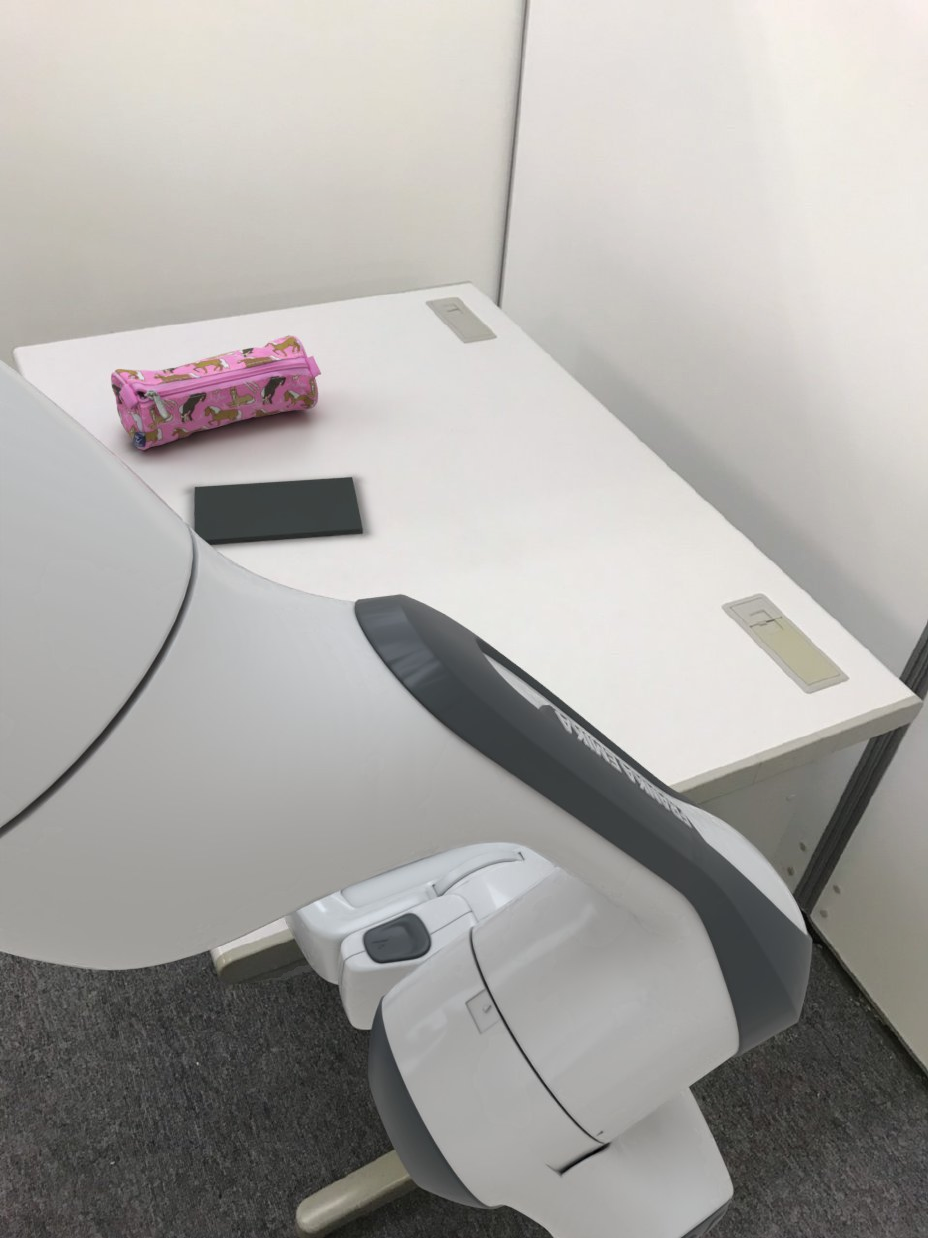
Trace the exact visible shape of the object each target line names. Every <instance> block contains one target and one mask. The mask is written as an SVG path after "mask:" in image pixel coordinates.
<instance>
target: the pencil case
mask: <svg viewBox="0 0 928 1238" xmlns="http://www.w3.org/2000/svg"><path fill="white" fill-rule="evenodd" d="M320 375H322V372H321V369H320V368H319V366H318V364H317V362H316V360H315V357H314V355H311V356H308V355H307V352H306V350H305V347H304V345H303V343H302V341H301V340H300V338H299V337H298V336H295V335H289V334H288V335H286V336H283V337H279V338H276V339H274V340H270V341H268V342H267V343H266V344H265V345H263V346H262V347H249V348H243V349H238V350H237V349H236V350H233V351H229V352H224V353H221V354H216V355H213V356H210V357H205V358H202V359H200V360H196V361H194V362H190V363H185V364H182V365H180V366H179V365H178V366H176V367H170V368H165V369H157V370H145V369H144V370H139V369H125V368H117V369H115V370H114V371H113V372H112V373H111V374H110V384H111V389H112V392H113V395H114V397H115V405H116V411H117V414H118V417H119V421H120V423H121V425H122V427H123V429H124V430H125V432H126V433H127V435H128V436H129V437H130V439H131V440H132V442H131V444H132V445H133V446H134V447H135V448H137V449H138V450H140V451H145V450H147V449H150V448H151V447H158V446H159V447H160V446H163V445H165V444H168V443H171V442H174V441H177V440H180V439H183V438H187V437H189V436H190V435H192V434H194V433H196V432H202V431H208V430H211V429H216V428H220V427H222V426H226V425H229V424H232V423H235V422H240V421H243V420H249V419H251V418H259V417H266V416H270V415H276V414H279V413H284V412H290V411H307V410H310V409H313V408H314V407H316V406H317V404H318V401H319V389H318V388H319V387H318V383H317V379H316V378H317V377H318V376H320Z"/></svg>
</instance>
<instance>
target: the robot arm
mask: <svg viewBox="0 0 928 1238" xmlns="http://www.w3.org/2000/svg"><path fill="white" fill-rule="evenodd" d="M282 918H284V921H285V923H286V925H287V927H288V929H289V931H290V933H291V935H292V937H293V939H294V941H295V943H296V944H297V946H298V948H299V950H300V951H301V953H302V954H303V956H304V958H305V959H306V961H307V962H308V964H309V966H310V967H311V968H312V969H313V971H315V973H316V974H318V976H319V977H321V978H322V979H323V980H325V981H326V982H328V983H331V984H333V985H338V991H339V995H340V1000H341V1004H342V1007H343V1009H344V1012H345V1015H346V1017H347V1019H348V1021H349V1023H350V1025H351V1026H352V1027H353V1028H354V1029H357V1030H365V1031H369V1030H370V1034H369V1042H368V1043H369V1044H368V1055H367V1080H368V1085H369V1088H370V1092H371V1095H372V1097H373V1101H374V1104H375V1106H376V1109H377V1113H378V1114H379V1117H380V1120H381V1122H382V1125H383V1127H384V1129H385V1131H386V1134H387V1136H388V1138H389V1140H390V1143H391V1145H392V1147H393V1149H394V1151H395V1153H396V1155H397V1157H398V1159H399V1161H400V1162H401V1164H402V1166H403V1168H404V1169H405V1171H406V1173H407V1174H408V1175H409V1177H410V1178H411V1180H412V1181H413V1182H414V1183H415V1184H416V1185H417V1186H418V1187H419V1188H421V1189H422V1190H424V1191H426V1192H429V1193H431V1194H434V1195H436V1196H439V1197H441V1198H443V1199H446V1200H449V1201H451V1202H454V1203H457V1204H461V1205H463V1206H469V1207H473V1208H477V1209H484V1210H485V1209H486V1210H495V1209H499V1208H502V1207H504V1206H507V1207H509V1208H512V1209H513V1210H516V1211H518V1212H519V1213H521V1214H523V1215H525V1216H526V1217H528V1218H529V1219H531V1220H532V1221H534V1222H536V1223H537V1224H539V1225H540V1226H541V1227H543V1228H544V1229H545V1230H547V1231H548V1233H549V1234H550V1235H551V1236H552V1238H700V1237H701V1236H705V1235H706V1234H707V1233H709V1232H710V1231H711V1230H712V1229H714V1227H715V1226H716V1225H717V1224H718V1223H719V1222H720V1221H721V1220H722V1219H723V1217H724V1216H725V1215H726V1212H727V1211H728V1207H729V1205H730V1202H731V1201H732V1198H733V1196H734V1185H733V1182H732V1178H731V1176H730V1173H729V1170H728V1169H727V1166H726V1163H725V1161H724V1159H723V1156H722V1154H721V1152H720V1149H719V1146H718V1144H717V1142H716V1140H715V1137H714V1135H713V1133H712V1132H711V1129H710V1127H709V1125H708V1123H707V1121H706V1119H705V1116H704V1114H703V1112H702V1110H701V1108H700V1106H699V1103H698V1102H697V1100H696V1098H695V1096H694V1094H693V1092H692V1090H691V1086H692V1085H693V1084H695V1083H696V1082H698V1081H699V1080H701V1079H702V1078H703V1077H705V1076H706V1075H708V1074H709V1073H710V1072H712V1071H714V1070H715V1069H716V1068H718V1067H719V1066H721V1065H722V1064H724V1062H726V1061H728V1060H729V1059H730V1058H738V1057H741V1056H742V1055H743V1054H745V1053H747V1052H748V1051H750V1050H752V1049H754V1048H755V1047H757V1046H759V1045H760V1044H762V1043H764V1042H766V1041H768V1040H769V1039H771V1038H773V1037H774V1036H776V1035H778V1034H779V1033H781V1032H783V1031H785V1030H787V1029H788V1028H790V1027H792V1026H793V1025H795V1024H797V1023H798V1022H799V1020H800V1017H801V1013H802V1009H803V1006H804V1002H805V997H806V993H807V988H808V983H809V978H810V972H811V963H812V953H813V938H812V936H811V935H810V933H809V931H808V930H807V926H806V922H805V920H804V917H803V914H802V911H801V909H800V907H799V905H798V903H797V901H796V900H795V897H794V896H793V894H792V892H791V891H790V889H789V887H788V885H787V884H786V882H785V881H784V880H783V878H782V877H781V875H780V874H779V873H778V871H777V870H776V869H775V868H774V866H773V865H772V864H771V863H770V861H769V860H768V859H767V858H766V857H765V856H764V855H763V854H762V852H761V851H760V850H759V849H758V848H757V847H756V846H755V845H754V844H753V843H752V842H751V841H750V840H749V839H747V837H745V836H744V835H743V834H742V833H741V832H740V831H738V830H737V829H735V828H734V827H733V826H732V825H730V824H729V823H727V822H726V821H724V820H723V819H721V818H719V817H717V816H716V815H714V814H712V813H710V812H708V811H706V810H705V809H704V808H702V807H701V806H700V805H698V803H696V802H695V801H694V800H692V799H690V798H689V797H687V796H685V795H684V794H682V793H680V792H679V791H677V790H675V789H673V787H672V788H671V786H669V785H668V784H666V783H665V782H664V781H662V780H661V779H660V778H658V777H657V776H655V774H653V773H652V772H651V771H649V770H648V769H647V768H646V767H644V766H643V765H642V764H641V763H640V762H638V761H637V760H636V759H634V758H633V757H632V756H631V755H630V754H628V752H626V751H625V750H624V749H622V748H621V747H620V746H619V745H617V744H616V742H614V741H613V740H612V739H610V738H609V737H607V736H606V735H605V734H604V733H603V732H601V731H600V730H599V729H598V728H597V727H596V726H594V725H593V724H592V723H591V722H589V721H588V720H587V719H585V718H584V716H582V715H581V714H580V713H578V712H577V711H576V710H574V709H573V708H572V707H571V706H570V705H569V704H567V703H566V702H564V700H562V699H561V698H560V697H558V695H556V694H555V693H553V691H551V690H550V689H549V688H547V686H545V685H543V684H542V683H541V682H540V681H539V680H537V679H536V678H535V677H533V676H532V675H531V674H530V673H528V672H527V671H525V670H524V669H523V668H522V667H520V666H519V665H517V663H515V662H514V661H512V660H511V659H510V658H508V657H507V656H506V655H504V654H503V653H501V652H500V651H499V650H498V649H496V648H495V647H494V646H492V645H491V644H490V643H489V642H487V641H485V640H484V639H483V638H481V637H480V636H479V635H478V634H476V633H474V632H473V630H471V629H469V628H467V627H466V626H464V625H462V624H461V623H460V622H458V621H456V620H455V619H453V618H452V617H451V616H449V615H447V614H446V613H443V612H441V611H440V610H438V609H436V608H434V607H432V606H430V605H428V604H427V603H425V602H421V600H420V601H419V600H417V599H415V598H412V597H411V596H409V595H406V594H402V593H398V594H392V595H384V596H375V597H374V596H373V597H368V598H367V597H366V598H359V599H357V600H354V601H353V600H344V599H340V598H339V599H338V598H332V597H328V596H323V595H319V594H314V593H311V592H306V591H303V590H300V589H296V588H293V587H290V586H287V585H285V584H281V583H279V582H276V581H274V580H271V579H269V578H266V577H263V576H262V575H259V574H258V573H256V572H253V571H252V570H250V569H248V568H246V567H244V566H242V565H241V564H239V563H238V562H235V561H234V560H232V559H230V558H229V557H228V556H226V555H224V554H223V553H221V552H219V551H218V550H217V549H216V548H215V547H213V546H212V545H211V544H208V543H207V542H206V541H204V540H203V539H202V538H201V537H200V536H199V535H198V534H197V533H196V532H195V529H193V528H192V527H191V526H190V525H189V524H187V522H185V521H184V519H183V518H182V517H181V516H180V515H179V514H178V513H177V512H176V511H175V510H174V509H173V507H171V506H170V505H169V504H168V503H167V502H166V501H165V500H164V499H163V498H162V497H161V496H160V495H158V493H156V491H155V490H154V489H153V488H151V486H150V485H148V484H147V482H146V481H144V480H143V479H142V478H141V476H139V474H137V472H135V471H134V470H133V469H132V468H130V466H128V465H127V464H126V463H125V462H124V461H123V460H122V459H121V458H119V457H118V456H117V455H116V454H115V453H114V452H113V451H111V449H110V448H109V447H107V446H106V445H105V443H102V442H101V440H100V439H98V438H97V437H96V436H95V435H94V434H93V433H92V432H90V431H89V429H87V428H86V427H85V426H84V425H83V424H81V423H80V422H79V421H78V420H77V419H75V418H74V416H72V415H71V414H69V413H68V412H67V411H65V410H64V409H63V408H62V407H61V406H59V405H58V404H57V403H56V402H54V400H52V399H51V398H50V397H48V396H47V395H46V394H45V393H43V392H42V391H41V390H40V389H39V388H38V387H36V386H35V385H34V384H33V383H32V382H30V381H29V380H28V379H26V377H24V376H23V375H22V374H20V373H19V372H18V371H16V369H14V368H13V367H12V366H10V365H8V363H6V362H4V361H3V360H2V359H0V952H1V953H6V954H9V955H13V956H16V957H21V958H24V959H29V960H33V961H38V962H42V963H48V964H54V965H58V966H65V967H72V968H78V969H82V970H96V971H126V970H134V969H143V968H150V967H155V966H159V965H164V964H168V963H173V962H175V961H179V960H183V959H185V958H189V957H194V956H197V955H199V954H203V953H205V952H208V951H211V950H214V949H216V948H220V947H223V946H225V945H227V944H230V943H232V942H234V941H237V940H239V939H240V938H243V937H246V936H247V935H249V934H252V933H254V932H255V931H258V930H260V929H262V928H264V927H266V926H268V925H271V924H272V923H275V922H276V921H279V920H280V919H282Z"/></svg>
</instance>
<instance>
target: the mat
mask: <svg viewBox="0 0 928 1238" xmlns="http://www.w3.org/2000/svg"><path fill="white" fill-rule="evenodd" d="M356 494H357V493H356V489H355V485H354V480H353V476H347V477H330V478H314V479H300V480H299V479H298V480H297V479H296V480H282V481H269V482H252V483H251V482H249V483H237V484H221V485H206V486H203V485H202V486H195V487H194V531H195V532H196V533H197V534H198V535H199V536H200V537H201V538H202V539H203V540H204V541H206V542H207V543H208V544H209V545H219V544H221V545H222V544H234V543H246V542H248V543H249V542H260V541H274V540H285V539H286V540H288V539H301V538H315V537H328V536H329V537H330V536H342V535H355V534H356V535H357V534H363V532H364V531H363V529H364V528H363V524H362V519H361V514H360V509H359V504H358V499H357V495H356Z"/></svg>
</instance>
